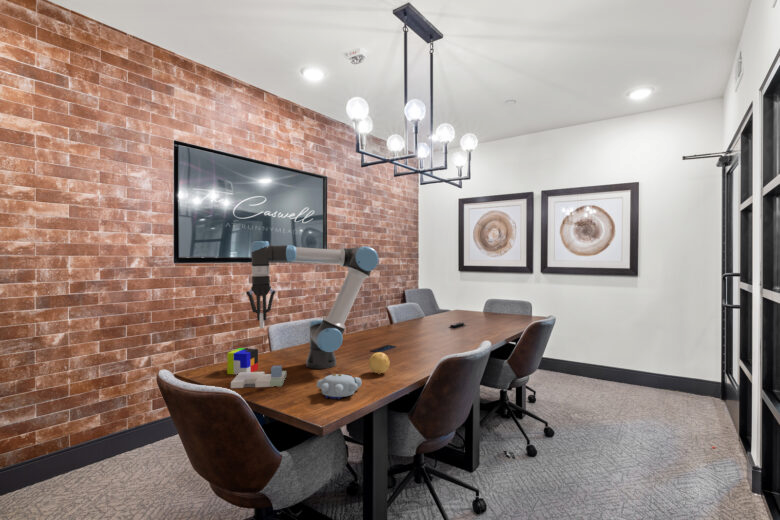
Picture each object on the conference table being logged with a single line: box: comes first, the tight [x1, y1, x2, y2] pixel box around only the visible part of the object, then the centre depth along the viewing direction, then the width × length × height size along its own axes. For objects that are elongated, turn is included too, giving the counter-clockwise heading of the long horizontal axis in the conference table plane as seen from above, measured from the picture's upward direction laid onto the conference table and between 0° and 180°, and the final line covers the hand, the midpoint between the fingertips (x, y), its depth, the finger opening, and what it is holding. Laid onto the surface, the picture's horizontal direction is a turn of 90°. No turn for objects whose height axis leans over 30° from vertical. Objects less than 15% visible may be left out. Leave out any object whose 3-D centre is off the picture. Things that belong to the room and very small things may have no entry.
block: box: [270, 364, 283, 377], centre depth 173 cm, size 4×4×4 cm
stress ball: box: [368, 351, 391, 375], centre depth 184 cm, size 10×10×10 cm
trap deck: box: [230, 370, 288, 389], centre depth 172 cm, size 21×14×2 cm, turn 97°
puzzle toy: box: [226, 347, 259, 375], centre depth 187 cm, size 10×10×10 cm
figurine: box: [316, 373, 362, 400], centre depth 158 cm, size 17×8×20 cm
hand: (262, 327), depth 175 cm, fingers closed
